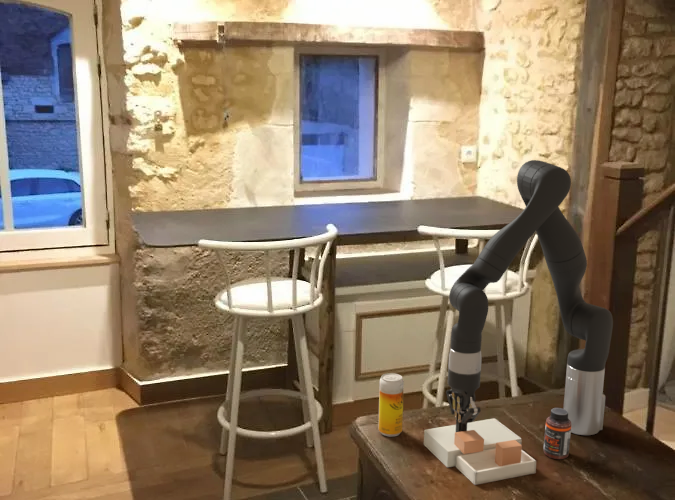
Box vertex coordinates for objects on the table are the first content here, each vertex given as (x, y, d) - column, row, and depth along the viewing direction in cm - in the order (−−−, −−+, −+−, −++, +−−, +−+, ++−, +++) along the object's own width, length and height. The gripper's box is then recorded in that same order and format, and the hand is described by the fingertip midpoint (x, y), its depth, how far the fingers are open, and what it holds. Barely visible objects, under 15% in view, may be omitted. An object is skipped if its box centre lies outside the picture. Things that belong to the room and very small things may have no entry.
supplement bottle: (539, 455, 181) (542, 411, 178) (548, 446, 185) (552, 403, 183) (563, 462, 177) (567, 418, 175) (572, 453, 182) (576, 410, 180)
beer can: (400, 438, 188) (402, 382, 185) (376, 436, 190) (378, 380, 186) (403, 428, 194) (405, 373, 191) (380, 425, 195) (381, 371, 192)
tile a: (514, 439, 176) (521, 445, 174) (513, 459, 177) (520, 465, 175) (496, 442, 175) (502, 448, 172) (494, 462, 176) (501, 468, 173)
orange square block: (473, 441, 179) (474, 429, 178) (483, 451, 174) (484, 439, 173) (454, 444, 177) (454, 432, 177) (463, 453, 173) (464, 441, 172)
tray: (514, 456, 180) (515, 444, 180) (535, 472, 172) (536, 461, 172) (455, 467, 175) (456, 455, 174) (474, 484, 167) (475, 472, 166)
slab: (493, 432, 192) (494, 418, 191) (520, 453, 181) (521, 438, 181) (423, 444, 185) (424, 429, 185) (447, 467, 174) (447, 451, 174)
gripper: (493, 375, 171) (489, 445, 175) (464, 355, 183) (461, 421, 187) (464, 379, 168) (460, 450, 172) (437, 359, 181) (434, 425, 184)
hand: (460, 435), depth 180 cm, fingers closed
